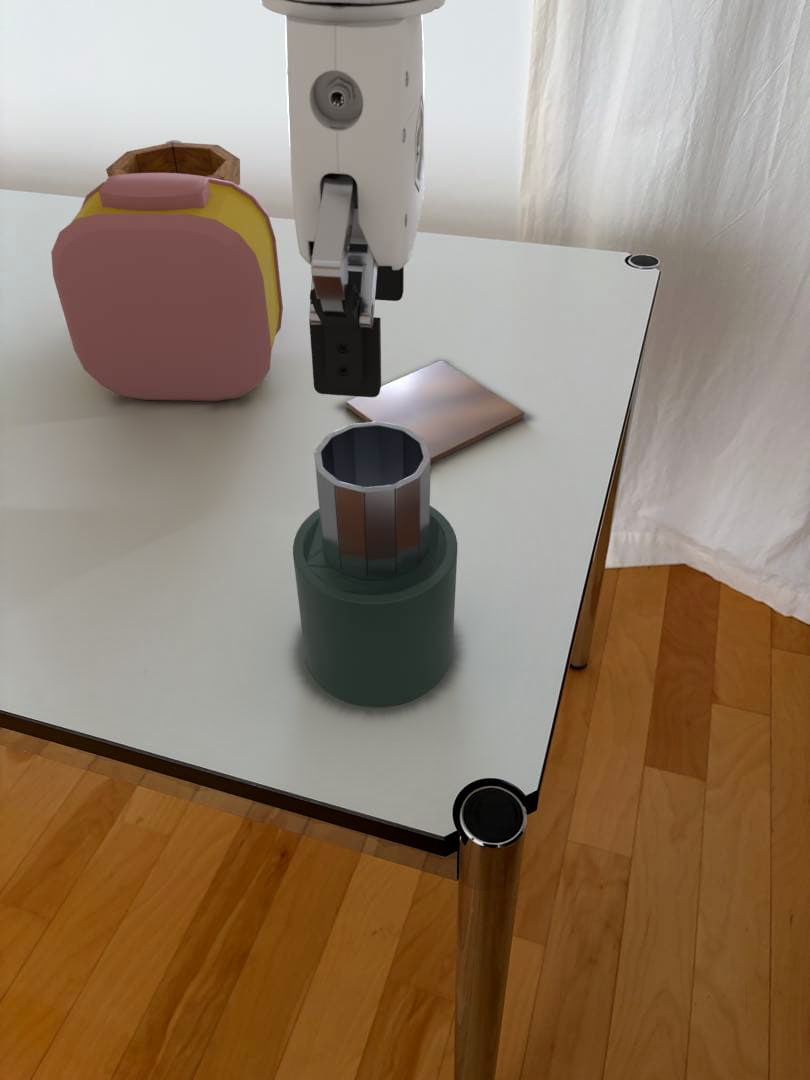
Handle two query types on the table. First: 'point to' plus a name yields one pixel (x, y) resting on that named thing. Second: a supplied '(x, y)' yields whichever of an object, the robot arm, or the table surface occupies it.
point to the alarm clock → (170, 287)
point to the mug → (180, 161)
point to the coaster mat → (438, 408)
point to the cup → (373, 499)
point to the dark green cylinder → (377, 620)
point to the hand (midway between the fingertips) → (362, 341)
